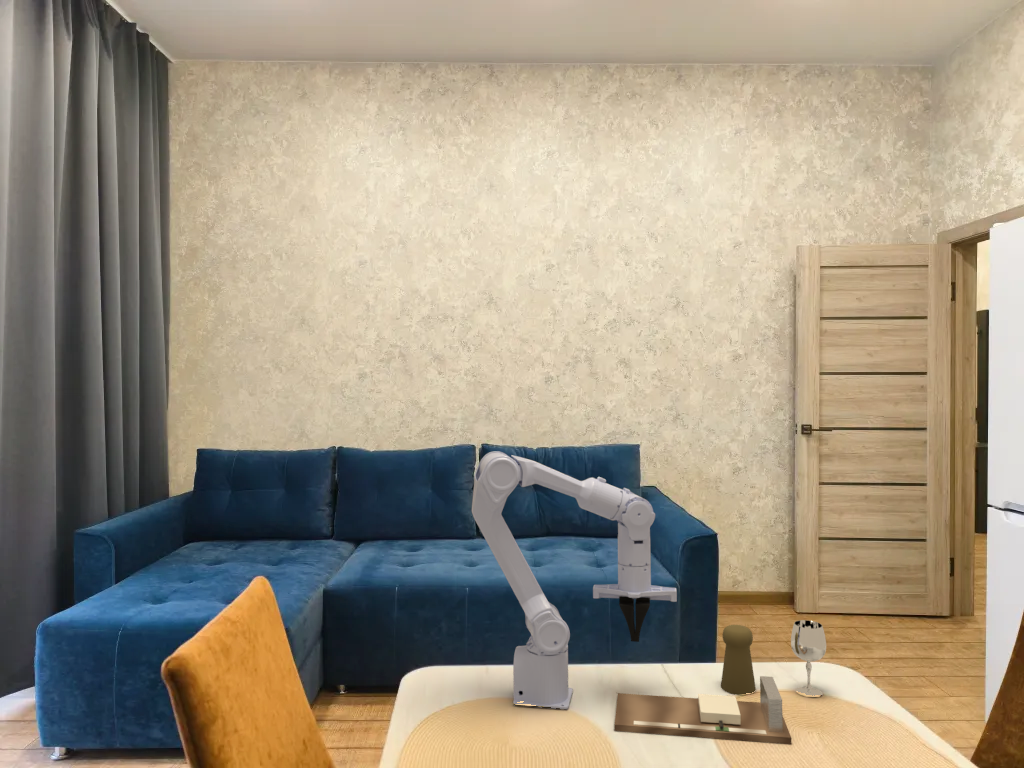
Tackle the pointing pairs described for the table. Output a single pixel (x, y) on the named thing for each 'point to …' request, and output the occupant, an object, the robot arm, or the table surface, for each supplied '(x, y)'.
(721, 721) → the carriage
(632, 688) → the table surface
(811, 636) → the wineglass
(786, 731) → the gauge base
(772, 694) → the gray stone tile
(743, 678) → the cork
